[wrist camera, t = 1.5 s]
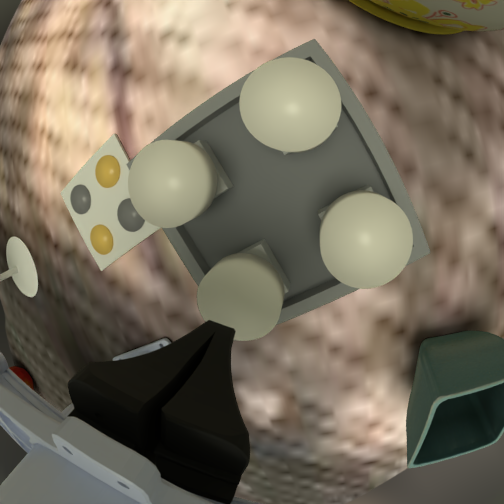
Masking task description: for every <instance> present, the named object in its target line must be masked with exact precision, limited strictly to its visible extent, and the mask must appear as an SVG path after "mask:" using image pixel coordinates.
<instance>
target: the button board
mask: <svg viewBox="0 0 504 504" xmlns="http://www.w3.org/2000/svg"><path fill="white" fill-rule="evenodd" d="M286 57H293V58H301V59H304V60H308V61H310V62H313V63H315V64H316V65H318V66H320V67H321V68H322V69H324V70H325V71H326V72H327V73H328V74H329V75H330V76H331V77H332V79H333V80H334V82H335V83H336V85H337V87H338V90H339V93H340V97H341V114H340V118H339V121H338V123H337V125H336V127H335V129H334V131H333V132H332V134H331V135H330V136H329V138H328V139H327V140H326V141H325V142H323V143H322V144H321V145H319V146H318V147H316V148H314V149H312V150H309V151H305V152H299V153H290V152H284V151H280V150H277V149H274V148H271V147H269V146H266V145H264V144H263V143H261V142H260V141H258V140H257V139H256V138H255V137H254V136H253V135H252V134H251V133H250V132H249V130H248V129H247V128H246V126H245V124H244V122H243V120H242V117H241V113H240V106H239V102H240V94H241V90H242V88H243V85H244V83H245V81H246V80H247V78H248V77H249V76H250V75H251V73H252V72H253V71H252V72H250V73H249V74H247V75H245V76H244V77H242V78H241V79H239V80H237V81H236V82H234V83H232V84H231V85H229V86H228V87H226V88H225V89H223V90H222V91H220V92H219V93H217V94H216V95H214V96H213V97H211V98H210V99H208V100H207V101H205V102H204V103H202V104H201V105H200V106H198V107H197V108H195V109H194V110H193V111H191V112H190V113H189V114H187V115H186V116H184V117H183V118H182V119H180V120H179V121H178V122H176V123H175V124H174V125H173V126H171V127H170V128H169V129H167V130H166V131H165V132H164V133H162V134H161V135H160V136H159V137H157V138H156V139H155V140H154V141H153V142H155V141H159V140H176V141H186V142H191V143H194V144H196V145H198V146H199V147H201V148H202V149H203V150H205V151H206V152H207V154H208V155H209V156H210V158H211V159H212V161H213V163H214V165H215V168H216V172H217V190H216V194H215V197H214V199H213V201H212V203H211V205H210V206H209V207H208V209H207V210H206V211H205V212H204V213H202V214H201V215H200V216H198V217H196V218H194V219H192V220H190V221H188V222H186V223H184V224H182V225H180V226H177V227H173V228H162V229H163V230H164V232H165V234H166V235H167V237H168V239H169V240H170V242H171V244H172V245H173V247H174V249H175V250H176V252H177V253H178V255H179V257H180V258H181V260H182V261H183V263H184V265H185V266H186V268H187V269H188V271H189V273H190V274H191V276H192V277H193V279H194V280H195V282H196V284H197V285H198V287H199V284H200V282H201V281H202V279H203V278H204V276H205V275H206V274H207V273H208V272H209V271H210V270H211V269H212V268H213V267H214V266H215V265H216V264H217V263H218V262H219V261H220V260H221V259H223V258H224V257H226V256H229V255H232V254H237V253H248V254H253V255H256V256H259V257H261V258H263V259H265V260H266V261H268V262H269V263H270V264H271V265H273V266H274V268H275V269H276V270H277V271H278V273H279V274H280V276H281V278H282V281H283V284H284V289H285V295H284V301H283V305H282V309H281V313H280V316H279V320H278V322H277V324H280V323H282V322H285V321H287V320H290V319H292V318H295V317H297V316H300V315H302V314H304V313H307V312H309V311H311V310H314V309H316V308H318V307H321V306H323V305H325V304H327V303H330V302H332V301H334V300H336V299H339V298H341V297H343V296H345V295H347V294H350V293H352V292H354V291H356V290H358V289H360V288H354V287H350V286H348V285H345V284H344V283H342V282H340V281H339V280H337V279H336V278H335V277H334V276H333V275H332V274H331V273H330V272H329V270H328V269H327V267H326V266H325V264H324V261H323V259H322V255H321V250H320V225H321V221H322V218H323V215H324V214H325V212H326V210H327V209H328V207H329V206H330V205H331V204H332V203H333V202H334V201H335V200H336V199H337V198H339V197H340V196H342V195H344V194H346V193H349V192H352V191H358V190H366V191H372V192H375V193H378V194H380V195H382V196H384V197H386V198H387V199H389V200H391V201H392V202H394V203H395V204H397V205H398V206H399V207H400V208H401V209H402V210H403V212H404V213H405V215H406V216H407V218H408V220H409V222H410V225H411V228H412V233H413V246H412V251H411V255H410V258H409V260H408V262H407V264H406V266H407V265H408V264H410V263H412V262H414V261H416V260H418V259H420V258H422V257H424V256H425V255H427V254H429V253H430V250H429V247H428V244H427V241H426V238H425V235H424V233H423V230H422V227H421V225H420V222H419V219H418V217H417V214H416V212H415V209H414V207H413V205H412V202H411V200H410V197H409V195H408V193H407V191H406V188H405V186H404V184H403V182H402V180H401V177H400V175H399V173H398V171H397V169H396V167H395V165H394V163H393V161H392V159H391V157H390V155H389V153H388V151H387V149H386V147H385V145H384V143H383V141H382V140H381V138H380V136H379V134H378V132H377V131H376V129H375V127H374V125H373V123H372V122H371V120H370V118H369V117H368V115H367V113H366V112H365V110H364V108H363V107H362V105H361V103H360V102H359V100H358V99H357V97H356V95H355V94H354V92H353V91H352V89H351V88H350V86H349V85H348V83H347V82H346V80H345V79H344V77H343V76H342V75H341V73H340V72H339V70H338V69H337V67H336V66H335V65H334V63H333V62H332V61H331V59H330V58H329V56H328V55H327V54H326V52H325V51H324V50H323V49H322V47H321V46H320V45H319V43H318V42H317V41H316V40H315V39H313V40H311V41H309V42H306V43H304V44H302V45H300V46H298V47H296V48H294V49H292V50H290V51H288V52H286V53H284V54H283V55H281V56H279V57H277V58H275V59H279V58H286ZM273 60H274V59H273ZM153 142H151V143H153ZM151 143H150V144H151ZM136 156H137V155H136ZM136 156H135V157H136ZM135 157H134V158H133V159H132V160H130V161H129V162H128V163H127V164H126V165H127V167H128V168H129V170H130V168H131V165H132V163H133V161H134V159H135ZM277 324H276V325H277ZM235 341H236V340H235Z"/></svg>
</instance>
